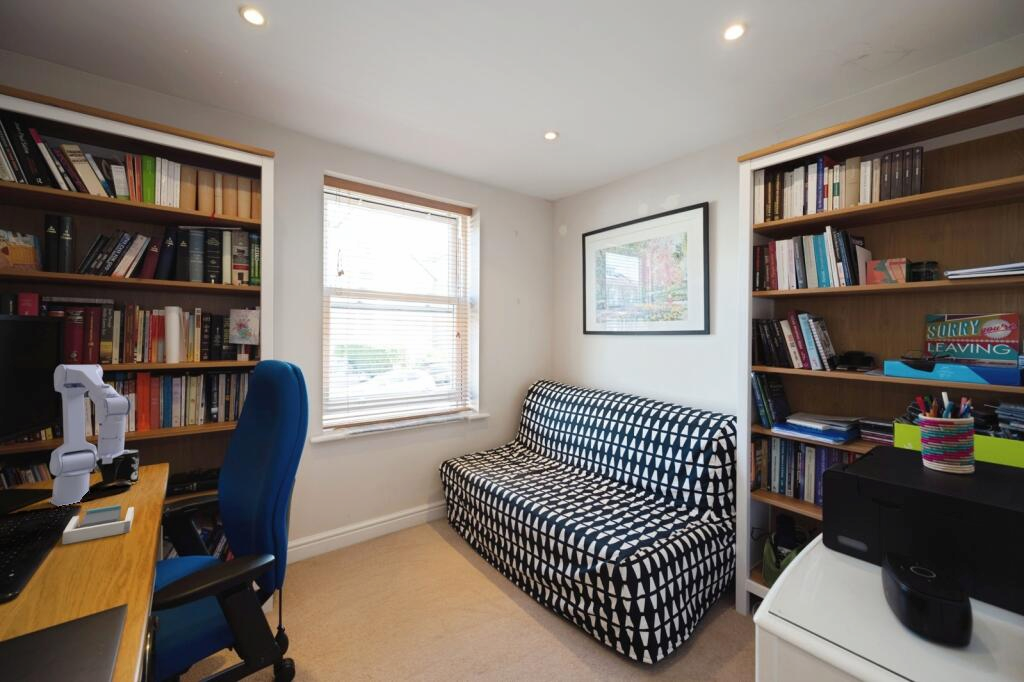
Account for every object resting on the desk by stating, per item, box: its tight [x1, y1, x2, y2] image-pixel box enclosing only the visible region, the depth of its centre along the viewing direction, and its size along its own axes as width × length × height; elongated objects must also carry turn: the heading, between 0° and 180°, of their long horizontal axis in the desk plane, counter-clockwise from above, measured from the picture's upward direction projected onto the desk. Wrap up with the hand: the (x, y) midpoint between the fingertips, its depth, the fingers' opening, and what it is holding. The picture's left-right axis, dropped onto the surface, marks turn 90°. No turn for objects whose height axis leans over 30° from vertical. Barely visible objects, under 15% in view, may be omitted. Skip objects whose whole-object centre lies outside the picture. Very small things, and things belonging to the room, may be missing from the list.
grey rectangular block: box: [79, 504, 122, 528], centre depth 113 cm, size 10×7×4 cm
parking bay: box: [61, 506, 135, 546], centre depth 111 cm, size 13×12×3 cm
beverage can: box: [115, 449, 140, 483], centre depth 149 cm, size 7×7×12 cm
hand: (108, 482), depth 122 cm, fingers closed
